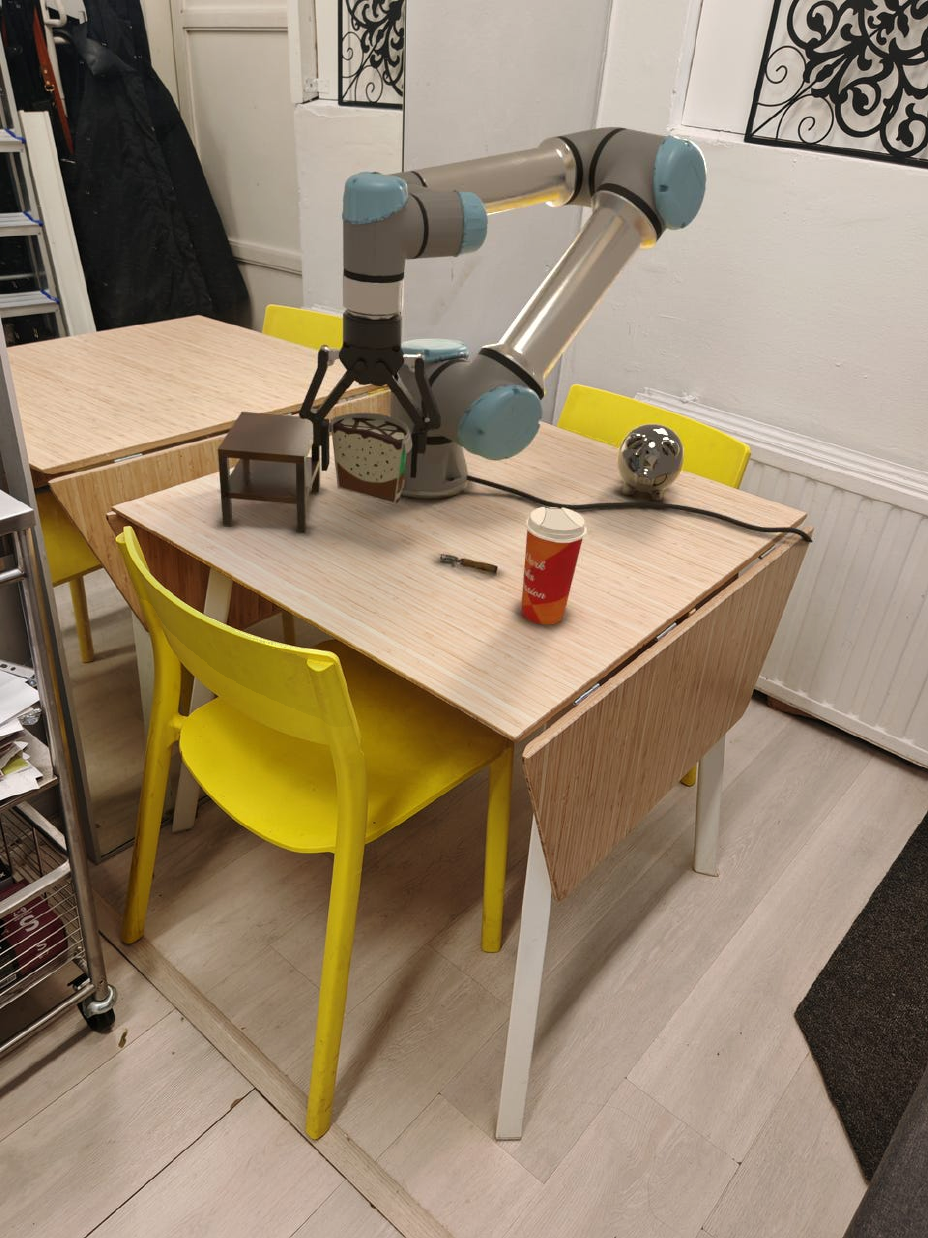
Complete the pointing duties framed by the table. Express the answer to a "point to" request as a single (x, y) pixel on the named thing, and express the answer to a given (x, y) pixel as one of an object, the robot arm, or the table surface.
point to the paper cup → (550, 562)
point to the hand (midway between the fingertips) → (369, 470)
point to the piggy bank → (650, 459)
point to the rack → (269, 463)
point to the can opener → (471, 563)
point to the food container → (370, 454)
